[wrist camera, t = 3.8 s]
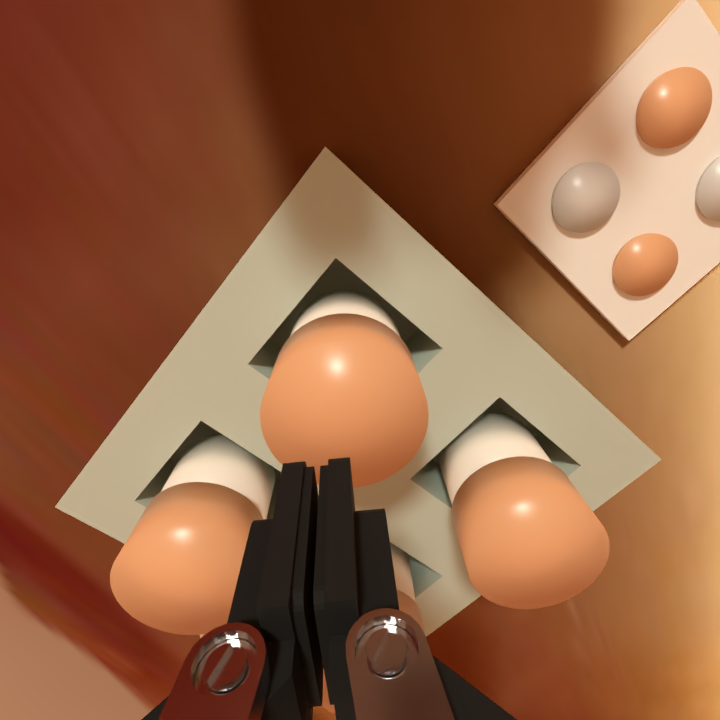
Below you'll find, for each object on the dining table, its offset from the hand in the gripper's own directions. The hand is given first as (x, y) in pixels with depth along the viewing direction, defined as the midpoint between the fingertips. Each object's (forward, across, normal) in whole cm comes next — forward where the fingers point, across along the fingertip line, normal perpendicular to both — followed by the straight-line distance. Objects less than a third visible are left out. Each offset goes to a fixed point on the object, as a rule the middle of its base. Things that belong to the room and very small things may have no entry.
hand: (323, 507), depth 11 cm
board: (+14, -1, +7) cm, 16 cm away
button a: (+11, -8, +7) cm, 15 cm away
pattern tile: (+14, -16, -6) cm, 22 cm away
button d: (+11, +6, +7) cm, 15 cm away
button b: (+11, -1, 0) cm, 11 cm away
